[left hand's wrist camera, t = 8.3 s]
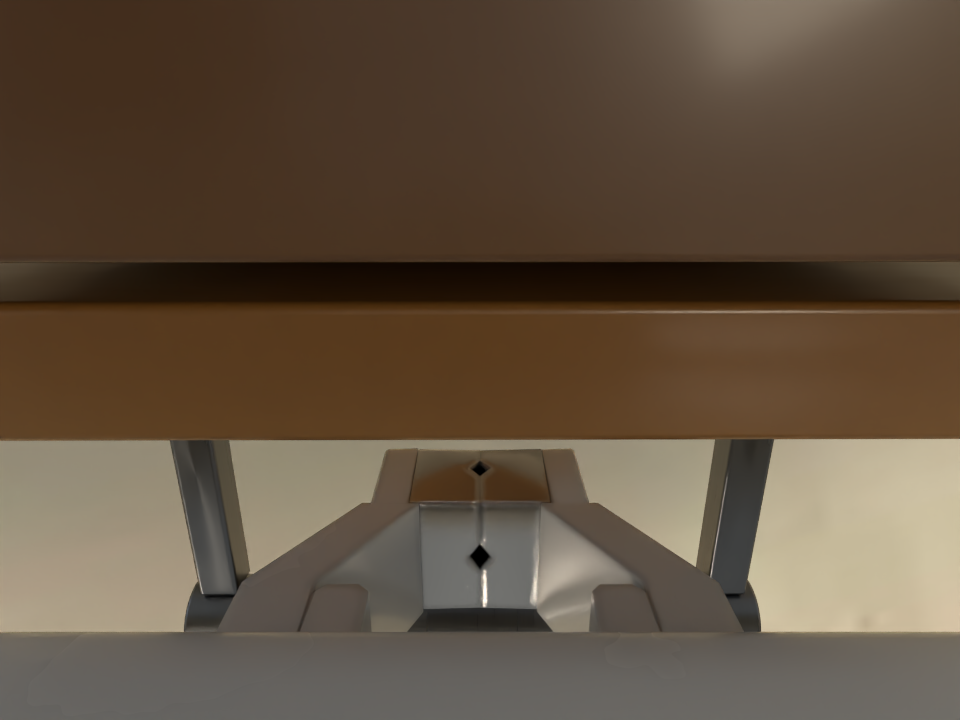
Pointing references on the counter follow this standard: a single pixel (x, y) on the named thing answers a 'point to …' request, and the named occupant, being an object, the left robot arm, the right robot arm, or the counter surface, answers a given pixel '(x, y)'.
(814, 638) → the left robot arm
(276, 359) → the drawer
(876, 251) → the cabinet
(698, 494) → the counter surface
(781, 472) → the counter surface
